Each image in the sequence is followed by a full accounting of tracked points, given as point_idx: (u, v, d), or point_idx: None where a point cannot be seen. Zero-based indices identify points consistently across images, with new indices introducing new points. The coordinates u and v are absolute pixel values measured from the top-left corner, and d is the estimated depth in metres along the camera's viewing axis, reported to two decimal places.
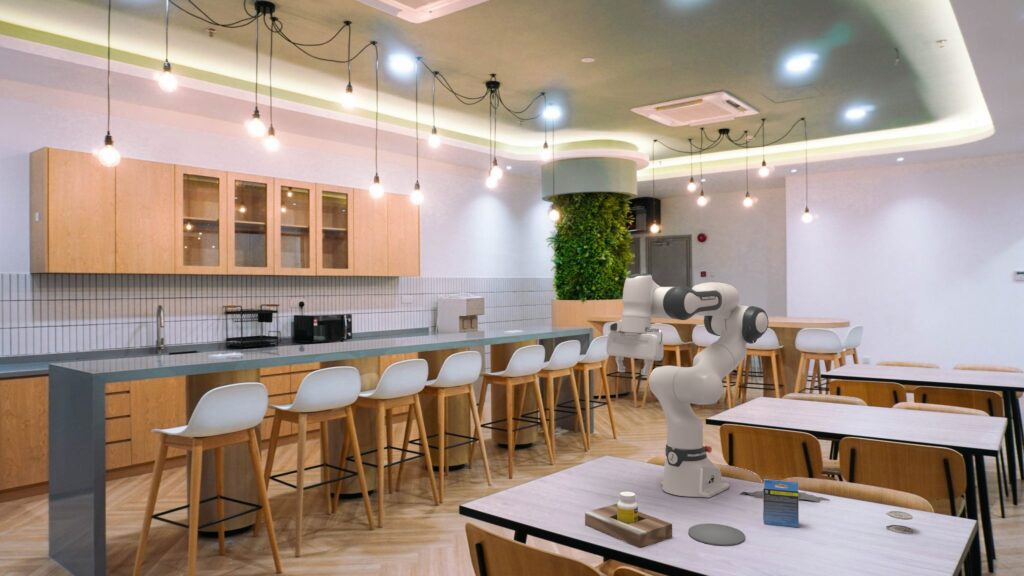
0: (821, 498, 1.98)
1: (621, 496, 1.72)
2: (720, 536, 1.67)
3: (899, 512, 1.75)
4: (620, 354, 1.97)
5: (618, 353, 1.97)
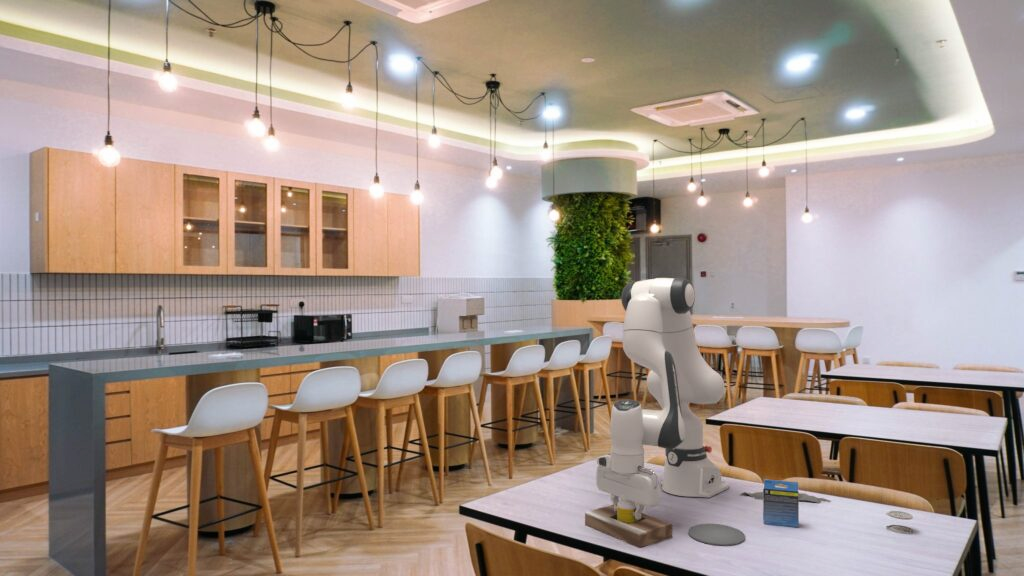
0: (822, 499, 1.97)
1: (621, 496, 1.72)
2: (720, 536, 1.67)
3: (899, 512, 1.75)
4: (612, 492, 1.75)
5: (610, 491, 1.76)
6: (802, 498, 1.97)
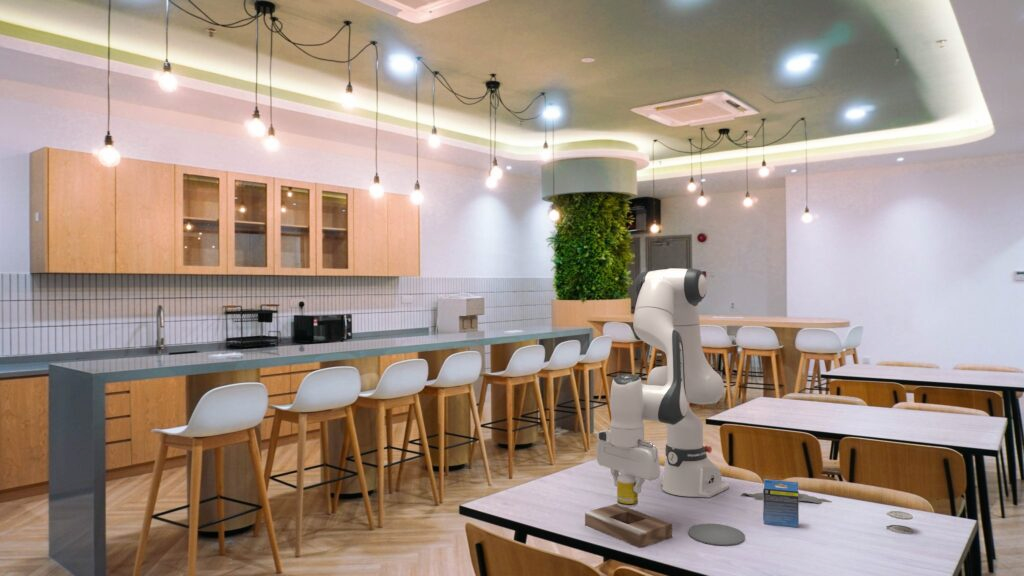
0: (822, 500, 1.97)
1: (621, 470, 1.72)
2: (720, 536, 1.67)
3: (899, 512, 1.75)
4: (612, 467, 1.75)
5: (610, 465, 1.76)
6: (802, 499, 1.96)
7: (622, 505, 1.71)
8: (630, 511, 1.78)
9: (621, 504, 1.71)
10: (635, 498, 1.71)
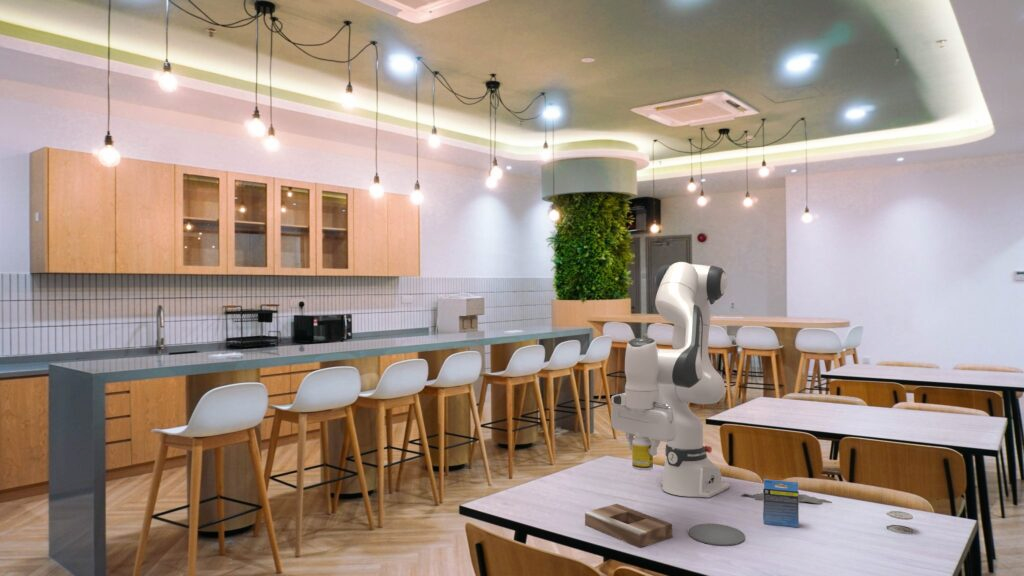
0: (823, 500, 1.96)
1: (636, 433, 1.72)
2: (720, 536, 1.67)
3: (899, 512, 1.75)
4: (627, 430, 1.75)
5: (624, 429, 1.75)
6: (803, 499, 1.96)
7: (637, 468, 1.71)
8: (630, 511, 1.78)
9: (636, 467, 1.71)
10: (650, 461, 1.71)
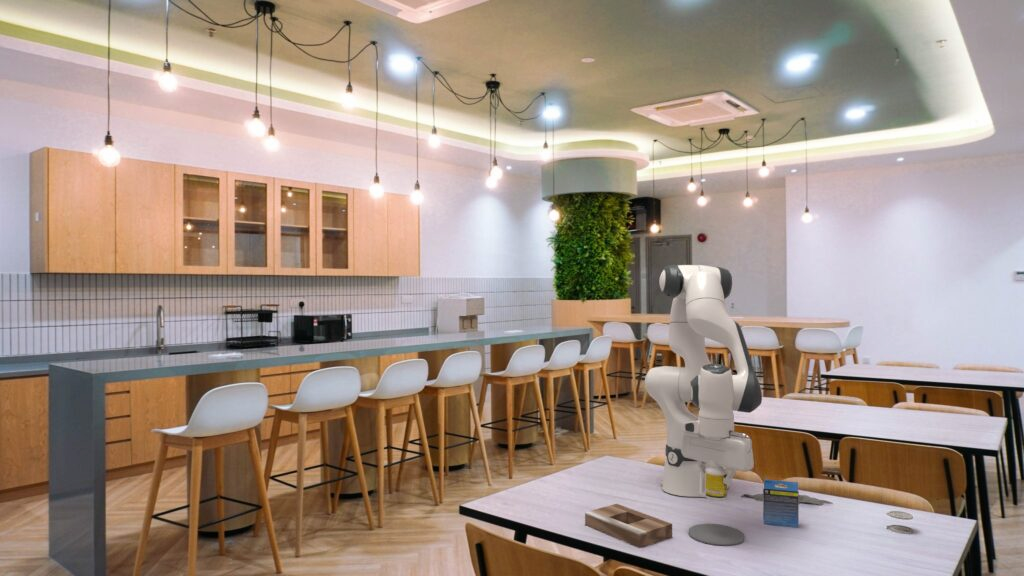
0: (823, 501, 1.95)
1: (710, 462, 1.68)
2: (720, 536, 1.67)
3: (900, 512, 1.75)
4: (699, 458, 1.71)
5: (697, 457, 1.72)
6: (803, 500, 1.95)
7: (711, 498, 1.67)
8: (630, 511, 1.78)
9: (710, 497, 1.67)
10: (725, 491, 1.67)
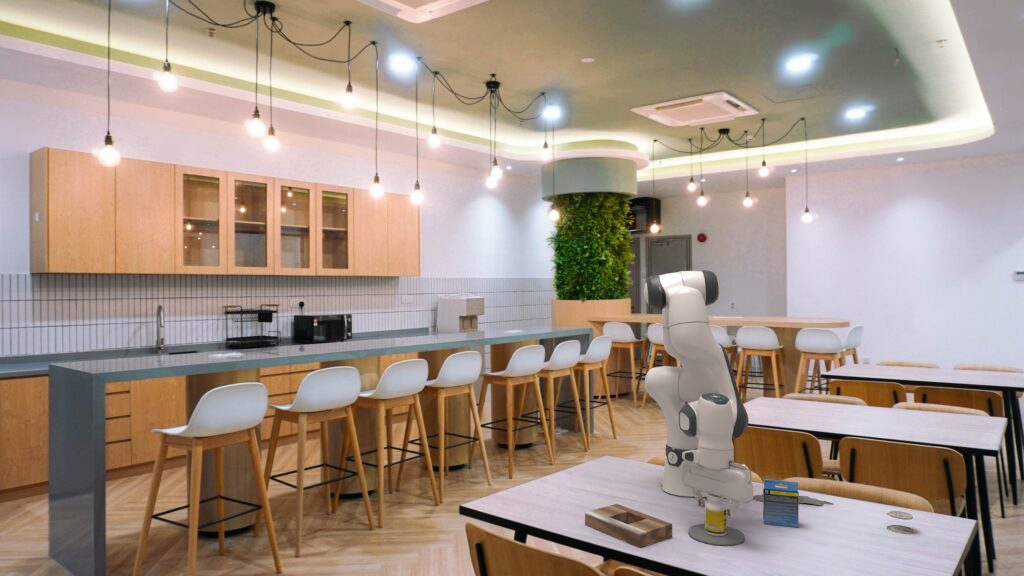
0: (824, 502, 1.95)
1: (710, 497, 1.69)
2: (720, 536, 1.67)
3: (900, 512, 1.75)
4: (699, 488, 1.71)
5: (696, 486, 1.72)
6: (804, 501, 1.94)
7: (711, 533, 1.67)
8: (630, 511, 1.78)
9: (710, 532, 1.68)
10: (724, 526, 1.67)
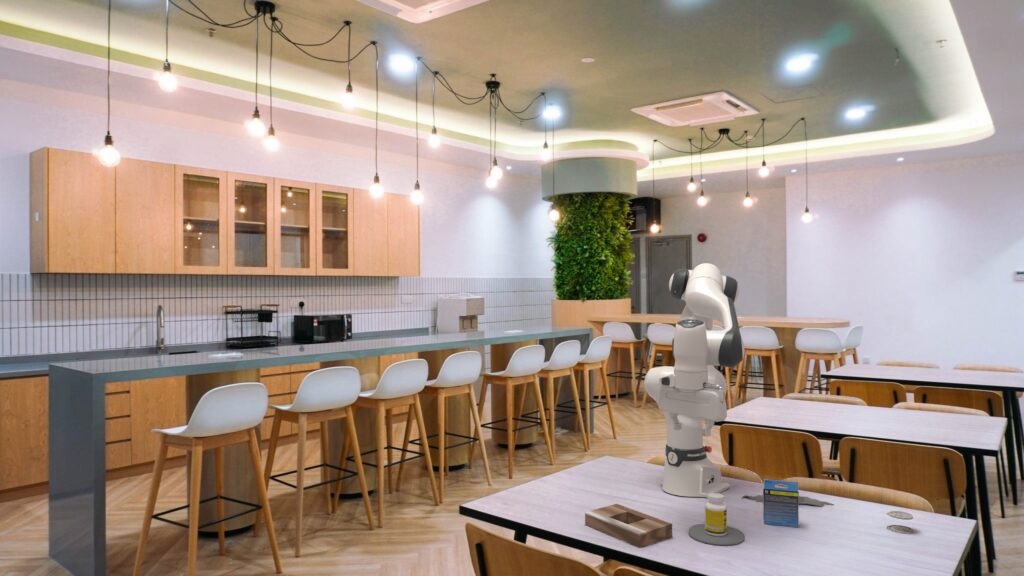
0: (825, 503, 1.94)
1: (710, 497, 1.69)
2: (720, 536, 1.67)
3: (900, 512, 1.75)
4: (675, 411, 1.76)
5: (673, 410, 1.77)
6: (804, 501, 1.94)
7: (711, 533, 1.67)
8: (630, 511, 1.78)
9: (710, 532, 1.68)
10: (724, 526, 1.67)
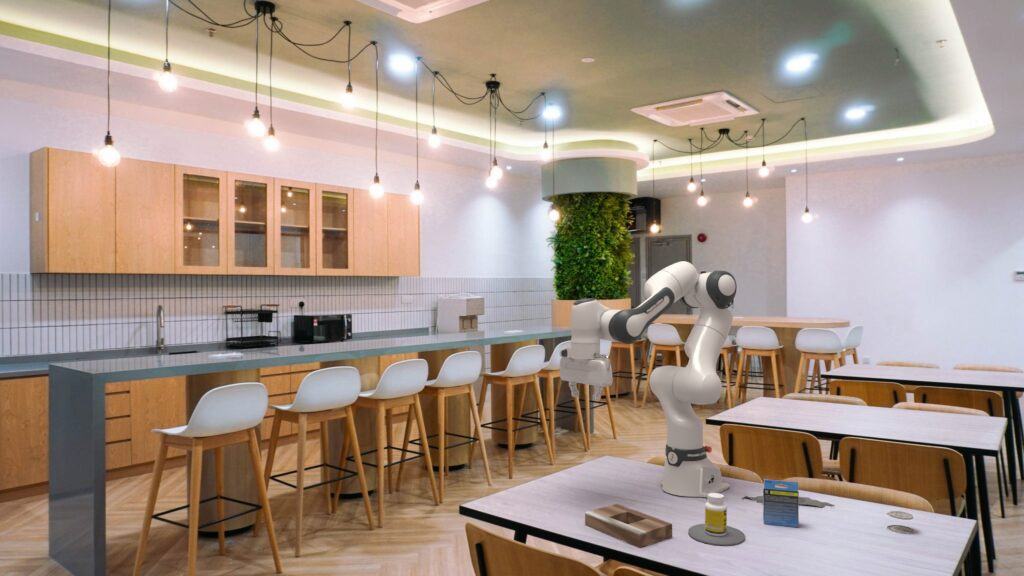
0: (825, 503, 1.93)
1: (710, 497, 1.69)
2: (720, 536, 1.67)
3: (900, 512, 1.75)
4: (572, 380, 1.99)
5: (570, 378, 2.00)
6: (805, 502, 1.93)
7: (711, 533, 1.67)
8: (630, 511, 1.78)
9: (710, 532, 1.68)
10: (724, 526, 1.67)
